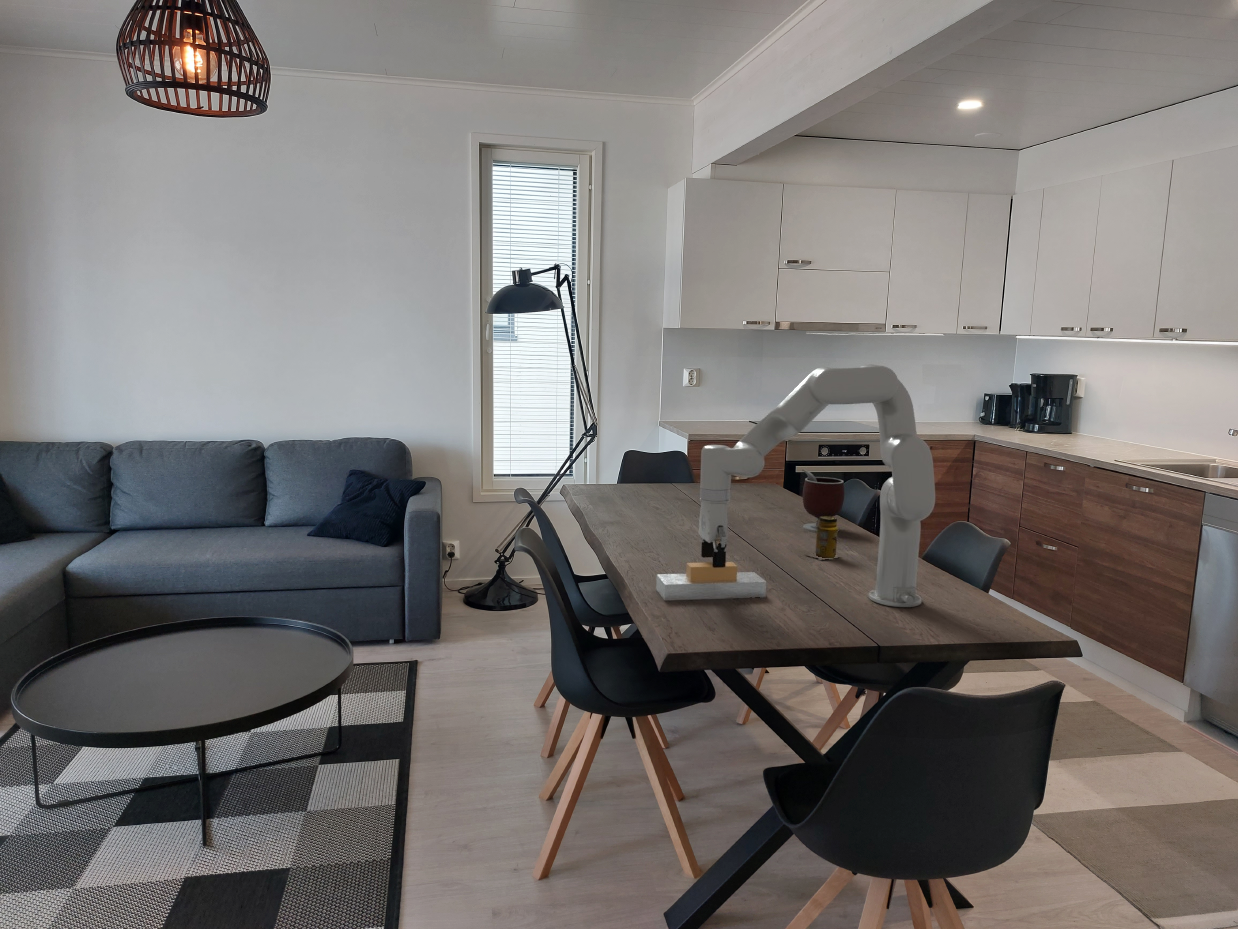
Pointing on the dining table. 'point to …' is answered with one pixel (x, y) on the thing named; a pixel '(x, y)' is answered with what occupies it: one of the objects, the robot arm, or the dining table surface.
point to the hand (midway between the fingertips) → (713, 562)
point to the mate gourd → (822, 497)
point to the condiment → (826, 537)
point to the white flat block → (710, 587)
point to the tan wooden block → (711, 572)
